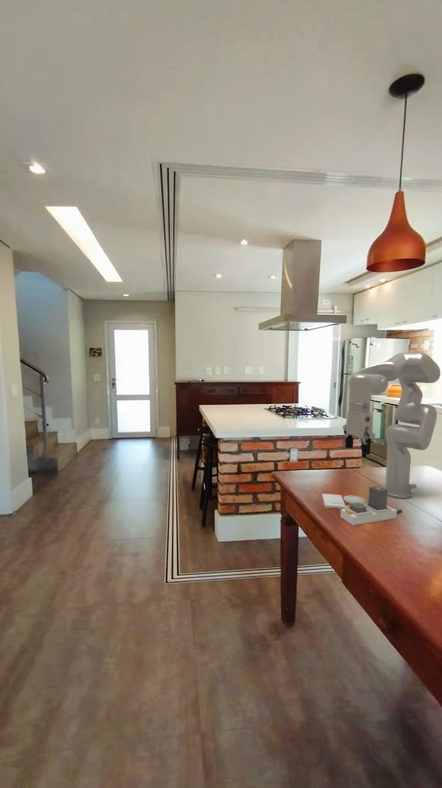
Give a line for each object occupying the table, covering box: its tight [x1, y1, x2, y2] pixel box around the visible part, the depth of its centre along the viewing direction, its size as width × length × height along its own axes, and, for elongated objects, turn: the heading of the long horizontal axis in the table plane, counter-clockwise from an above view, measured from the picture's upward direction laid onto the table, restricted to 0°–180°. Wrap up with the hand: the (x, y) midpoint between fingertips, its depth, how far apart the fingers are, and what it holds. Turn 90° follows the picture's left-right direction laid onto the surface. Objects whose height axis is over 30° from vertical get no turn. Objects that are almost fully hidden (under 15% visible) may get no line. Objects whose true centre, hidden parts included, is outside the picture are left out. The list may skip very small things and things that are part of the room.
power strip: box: [339, 502, 403, 526], centre depth 129 cm, size 26×7×5 cm, turn 108°
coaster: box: [342, 494, 367, 505], centre depth 145 cm, size 9×9×1 cm
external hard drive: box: [321, 493, 346, 510], centre depth 143 cm, size 2×8×12 cm
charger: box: [367, 485, 388, 510], centre depth 129 cm, size 4×4×8 cm
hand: (357, 451), depth 131 cm, fingers open, 9 cm apart
